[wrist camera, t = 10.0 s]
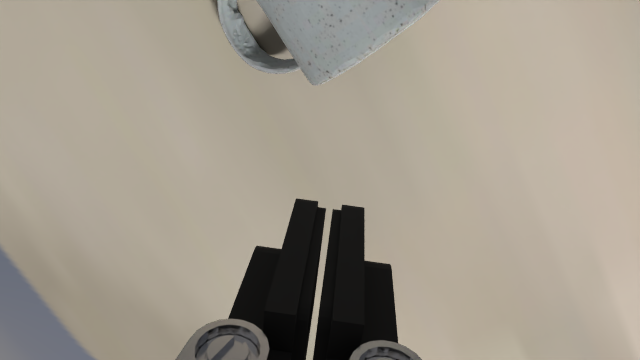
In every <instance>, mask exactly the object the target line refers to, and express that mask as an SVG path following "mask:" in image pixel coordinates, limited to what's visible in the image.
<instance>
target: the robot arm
mask: <svg viewBox="0 0 640 360" xmlns="http://www.w3.org/2000/svg"><path fill="white" fill-rule="evenodd" d="M325 212H326V208H319V207H318V201H311V200H303V199H296V201H295V204H294V208H293V211H292V215H291V218H290V222H289V225H288V229H287V232H286V236H285V239H284V243H283V246H282V249H276V248H269V247H261V246H256V248H255V250H254V252H253V255H252V257H251V260H250V263H249V265H248V268H247V271H246V273H245V276H244V278H243V281H242V284H241V286H240V289H239V292H238V294H237V297H236V299H235V302H234V305H233V307H232V310H231V313H230V315H229V318H228V319H222V320H217V321H214V322H211V323H208V324H206V325H205V326H203V327H201V328H200V329H198V330H197V331H196V332H195V333H194V334H193V335H192V336H191V338H190V339H189V340H188V342H187V343H186V345H185V346H184V348H183V349H182V351H181V352H180V354H179V355H178V357H177V358H176V359H175V360H306V354H307V347H308V340H309V333H310V326H311V319H312V313H313V306H314V298H315V291H316V283H317V275H318V267H319V259H320V251H321V243H322V236H323V228H324V220H325ZM313 360H422V359H421V358H420V357H419V356H418V355H417V354H416V353H415V352H413V351H412V350H410V349H409V348H407V347H406V346H403V345H401V344H398V336H397V325H396V314H395V303H394V292H393V280H392V269H391V265H390V264H384V263H377V262H370V261H364V208H363V207H355V206H348V205H342V209H341V210H334V209H333V212H332V220H331V227H330V235H329V242H328V249H327V257H326V264H325V272H324V279H323V287H322V294H321V301H320V309H319V317H318V325H317V332H316V340H315V348H314V356H313Z"/></svg>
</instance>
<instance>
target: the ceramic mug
mask: <svg viewBox="0 0 640 360" xmlns="http://www.w3.org/2000/svg"><path fill="white" fill-rule="evenodd" d="M256 1H257V2H258V3H259V5H260V6H261V8H262V9H263V11H264V12H265V14H266V15H267V17H268V18H269V20H270V22H271V23H272V25H273V26H274V28H275V30H276V31H277V33H278V34H279V36H280V37H281V39H282V41H283V42H284V44H285V45H286V47H287V48H288V50H289V52H290V53H291V55H292V56H293V58H294V59H287V60H283V59H278V58H275V57H272V56H270V55H268V54H267V53H266V52H265V51H264V50H262V49H261V48H260V46H259V45H258V44H257V42H256V41H255V39H254V38H253V36H252V34H251V33H250V31H249V29H248V28H247V26H246V24H245V22H244V19H243V16H242V15H241V14H240V12H239V11H238V8H237V0H217V3H218V14H219V20H220V23H221V26H222V28H223V31H224V33H225V35H226V37H227V39H228V41H229V42H230V44H231V46H232V47H233V48H234V50H235V51H236V52H237V54H238V55H239V56H240V57H241V58H242V59H243V60H244V61H245V62H246V63H247V64H249V65H250V66H252V67H253V68H255V69H257V70H260V71H263V72H266V73H274V74H281V73H289V72H294V71H297V70H300V69H301V70H302V72H303V73H304V75H305V76H306V78H307V79H308V80H309V81H310V83H311V84H312V85H320V84H324V83H326V82H328V81H329V80H331V79H333V78H335V77H337V76H338V75H340V74H342V73H344V72H345V71H347V70H349V69H350V68H352V67H353V66H355V65H357V64H358V63H360V62H361V61H362V60H364V59H365V58H367V57H368V56H369V55H371V54H372V53H374V52H376V51H377V50H378V49H379V48H380V47H382V46H384V45H385V44H387V43H388V42H389V41H390V40H392V39H393V38H394V37H396V36H397V35H398V34H400V33H401V32H403V31H404V30H405V29H407V28H408V27H410V26H411V25H412V24H414V23H415V22H416V21H418V20H419V19H420V18H421V17H423V16H424V15H425V14H426V13H427V12H428V11H429V10H430V9H431V8H432V7H433V6H434V5H435V4H436V3H438V2H439V1H440V0H256Z"/></svg>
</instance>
